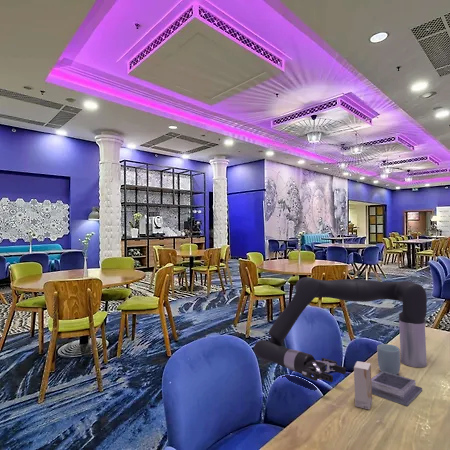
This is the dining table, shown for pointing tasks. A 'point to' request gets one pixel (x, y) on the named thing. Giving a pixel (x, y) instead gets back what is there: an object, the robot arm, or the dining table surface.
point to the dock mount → (395, 388)
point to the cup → (388, 358)
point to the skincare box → (363, 385)
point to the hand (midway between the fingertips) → (339, 375)
